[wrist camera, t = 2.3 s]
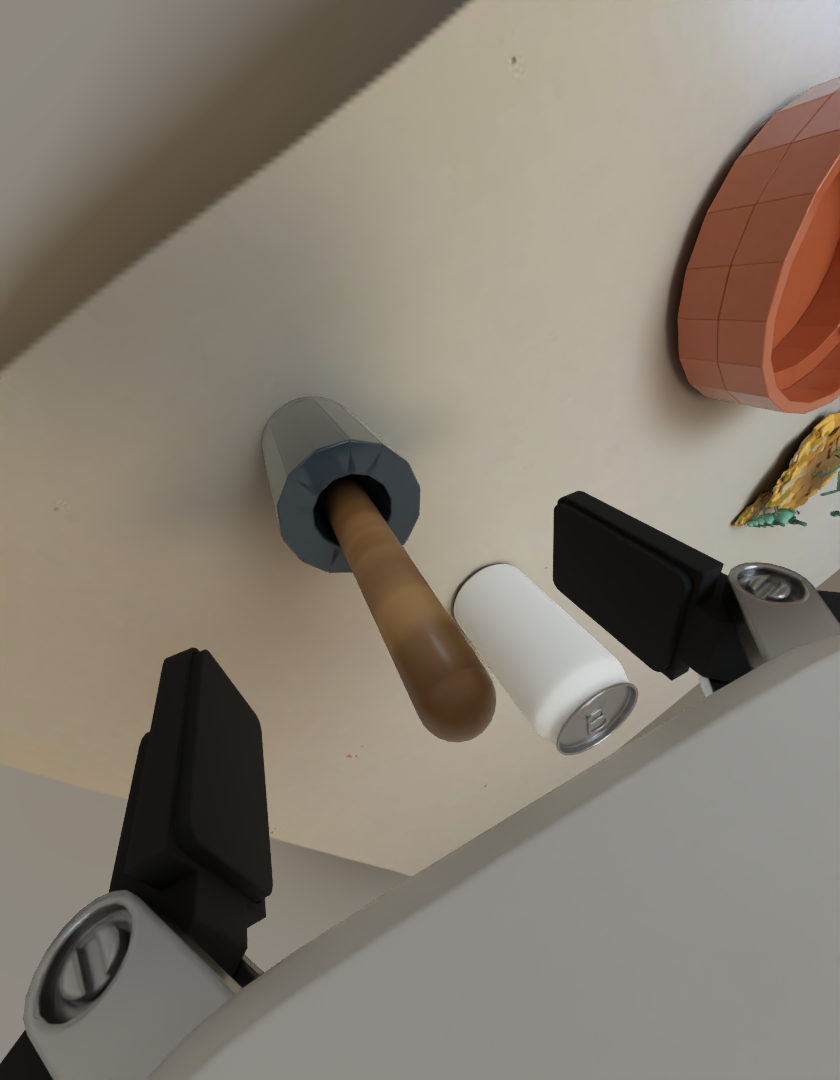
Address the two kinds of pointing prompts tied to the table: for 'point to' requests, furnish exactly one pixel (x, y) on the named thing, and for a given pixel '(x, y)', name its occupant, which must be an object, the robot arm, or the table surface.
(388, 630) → the stick
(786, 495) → the insect on leaf figurine
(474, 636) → the can
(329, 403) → the utensil pot
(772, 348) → the bowl
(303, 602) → the table surface
